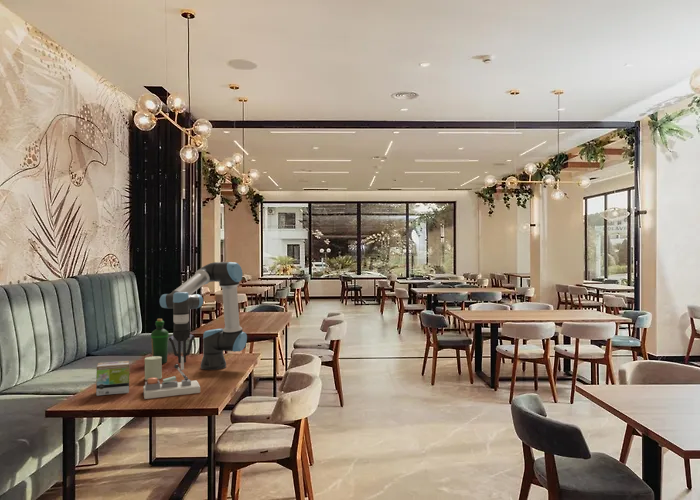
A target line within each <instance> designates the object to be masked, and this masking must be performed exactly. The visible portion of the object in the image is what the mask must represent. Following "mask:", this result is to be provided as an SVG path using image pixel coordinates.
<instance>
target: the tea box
mask: <svg viewBox="0 0 700 500" xmlns="http://www.w3.org/2000/svg"><path fill="white" fill-rule="evenodd" d="M95 374H96V375H95V376H96V382H95V383H96V386H95V387H96V389H95V391H96V396H97V397H98V396H99V397H100V396H105V395H119V394H129V392H130V360H121V361H110V362H109V361H107V362H98V363H97V366H96V373H95Z"/></svg>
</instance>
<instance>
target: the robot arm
mask: <svg viewBox="0 0 700 500" xmlns="http://www.w3.org/2000/svg"><path fill="white" fill-rule="evenodd" d="M243 275H244V273H243V268H242V266H241V265H240V264H239V263H238V262H235V261H234V262H232V261H224V262H223V261H220V262H219V261H218V262H216V261H214V262H210V263H208V264H205V265H204V266H202V267H201V268H199V269H198V270H196V271H195V273H194V275H193V276H191V277H190V278H188V279H187V280H185V282H184V283H182V284H181V285H180V286H178V287H176V289H174V290H172V292H171V293H164V294H161V295H160V298H159V305H160V307H161V308H163V309H168V310H169V309H173V310H172V311H173V315H172V316H173V332H172V335H171V336H168V341H169V342H170V344H171V349H172V352H173V354H174V357H177V362H178V364H179V366H180V369H181V370H182V371H183V370H185V363H187V356H189V355H190V354H191V349H192V346H193V345H192V344H193V341H194V339H195V335H193V334H192V333H191V332H190V323H189V322H190V310H195V309H199V308H200V307H202V306H203V304H204V298H203V297H202V295H201V294H199V293H198V294H197V293H195V292H196V291H197V290H199V289H200V288H201V287H202V286H204V285H207V284H209V283H212V282H217V283H218V284H219V287H220V288H221V290H222V304H223V318H224V328H215V329H214V328H213V329H209V330H204V332H203V337H202V339H203V340H202V341H203V342H202V343H203V345H202V347H203V356H202V359H201V362H200V369H201V370H204V371H206V370H207V371H215V370H221V369H225V368H226V367H227V362H226V358H225V356H224V352H234V353H235V352H241V351H243V350H244V349H245V348H246V344H247V340H248V335H247V333H246V332H244V331H243V327H242V326H241V325H240V312H239V300H238V299H239V298H238V297H239V296H238V286H239V285H240V282H241V281H242V280H243V277H244V276H243ZM188 338H189V341H188V346H187V340H188ZM174 340H176V342H177V348H176V346H175V342H174ZM181 343H182V344H181ZM181 345H182V346H181ZM181 348H182V349H181Z"/></svg>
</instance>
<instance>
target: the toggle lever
mask: <svg viewBox="0 0 700 500" xmlns="http://www.w3.org/2000/svg"><path fill="white" fill-rule="evenodd" d="M173 368H175V370H177V371H178V372H179V374H180V375H181V376H182V378H184V379H183V380H188V379H189V378H188V376H187V375H186V374H185V373H184V371H183V370H181V367H180V364H179V363H176V364H174V366H173Z"/></svg>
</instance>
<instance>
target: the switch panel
mask: <svg viewBox="0 0 700 500" xmlns="http://www.w3.org/2000/svg"><path fill="white" fill-rule="evenodd" d="M200 393H201V386H200V383H199V382H198V380H191V379H189V378H188V380H185V379H181V381H178V380H174V381H170V382H166V383H164V382H163V381H161V382H160V380H158V383H157V384H148V381H144V385H143V397H144V400H146V399H147V400H148V399H157V398H165V397H173V396H182V395H191V394H200Z"/></svg>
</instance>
